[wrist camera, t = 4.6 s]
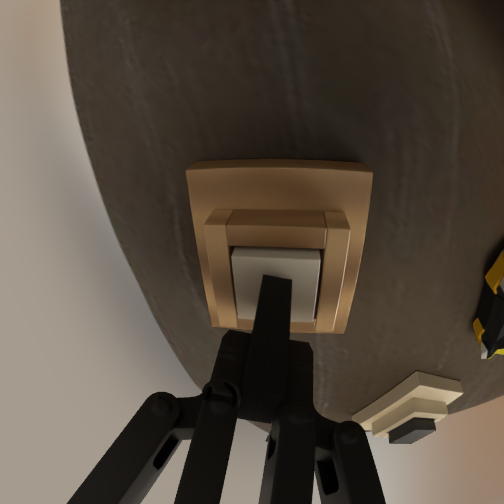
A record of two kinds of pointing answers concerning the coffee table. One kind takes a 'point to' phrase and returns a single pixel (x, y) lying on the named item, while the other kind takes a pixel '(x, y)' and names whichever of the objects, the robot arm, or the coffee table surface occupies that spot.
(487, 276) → the gaming controller
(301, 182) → the key block
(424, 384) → the key block
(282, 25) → the coffee table surface
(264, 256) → the ivory key
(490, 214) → the coffee table surface
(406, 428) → the black key
